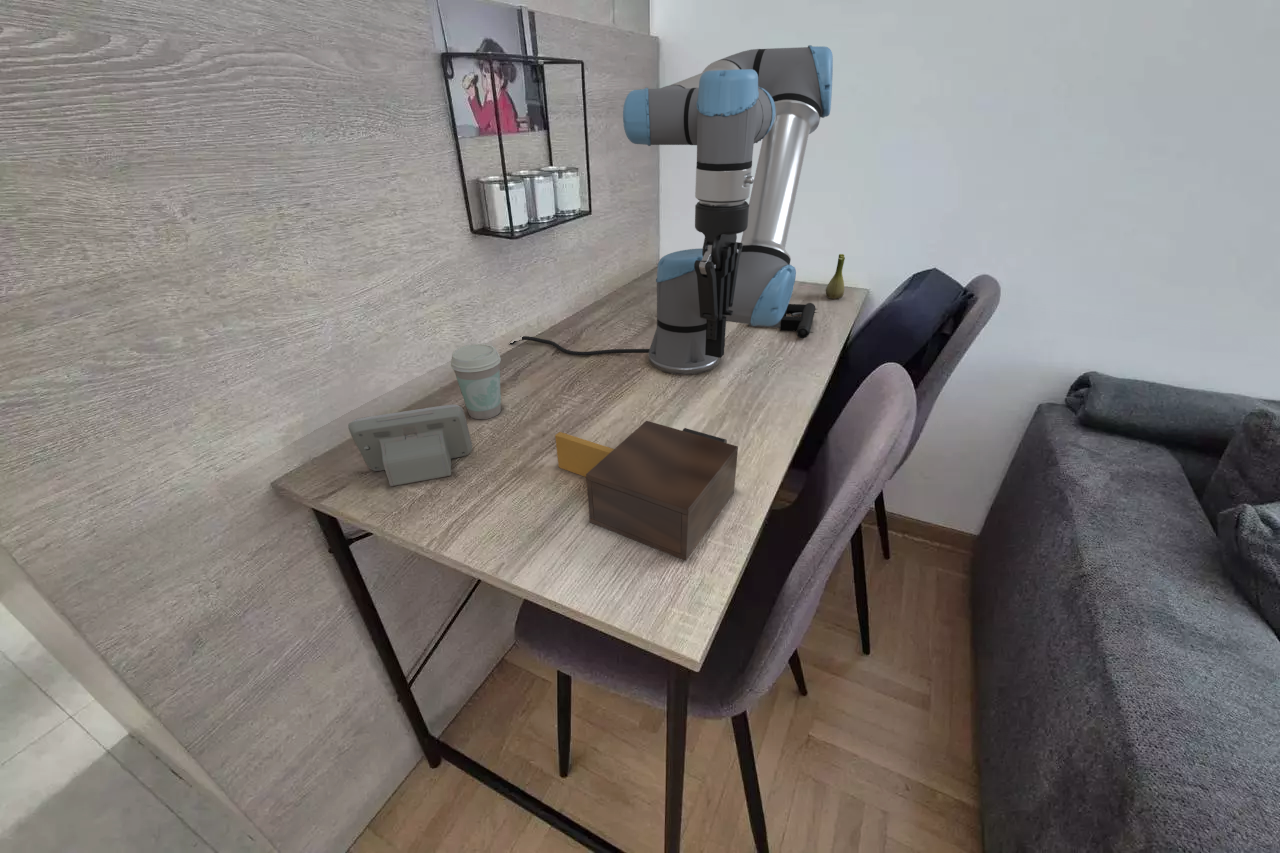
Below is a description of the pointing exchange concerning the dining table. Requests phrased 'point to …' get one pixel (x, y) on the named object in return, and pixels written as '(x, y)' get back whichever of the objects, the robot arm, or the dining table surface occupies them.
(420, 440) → the digital clock
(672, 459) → the cabinet
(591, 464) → the upright yellow panel
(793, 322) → the door handle
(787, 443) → the dining table surface
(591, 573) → the dining table surface
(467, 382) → the coffee cup
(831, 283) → the green gourd
